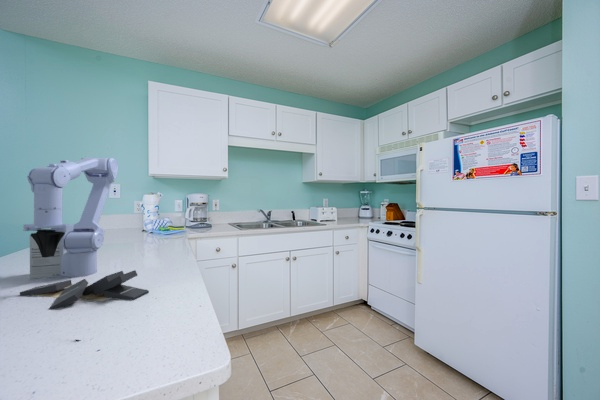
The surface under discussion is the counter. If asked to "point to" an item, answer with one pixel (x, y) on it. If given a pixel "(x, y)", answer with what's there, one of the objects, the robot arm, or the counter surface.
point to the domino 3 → (101, 282)
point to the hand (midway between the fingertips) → (48, 256)
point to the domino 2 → (70, 294)
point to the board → (89, 296)
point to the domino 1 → (46, 288)
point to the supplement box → (45, 261)
